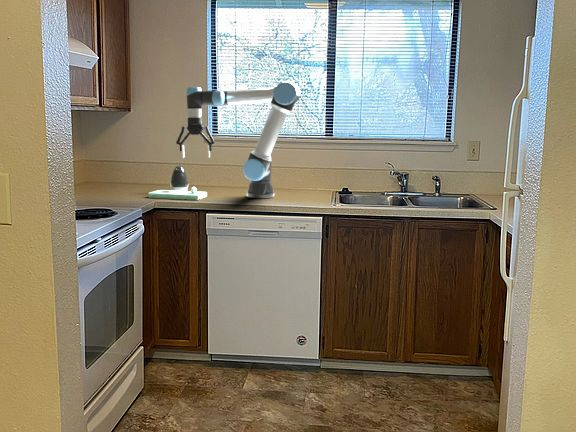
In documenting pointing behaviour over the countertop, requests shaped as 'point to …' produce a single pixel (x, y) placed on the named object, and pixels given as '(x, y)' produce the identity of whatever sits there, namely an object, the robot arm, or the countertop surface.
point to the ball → (193, 190)
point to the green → (177, 194)
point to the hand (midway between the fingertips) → (196, 157)
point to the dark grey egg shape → (179, 179)
